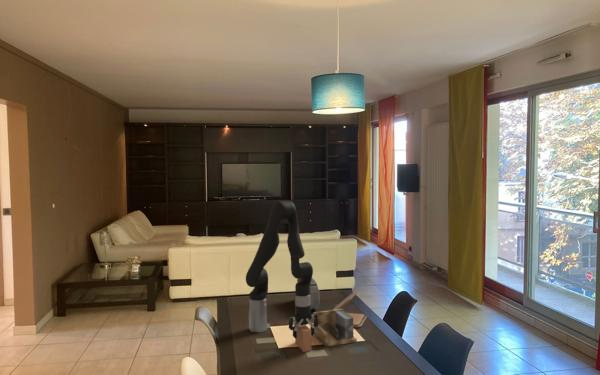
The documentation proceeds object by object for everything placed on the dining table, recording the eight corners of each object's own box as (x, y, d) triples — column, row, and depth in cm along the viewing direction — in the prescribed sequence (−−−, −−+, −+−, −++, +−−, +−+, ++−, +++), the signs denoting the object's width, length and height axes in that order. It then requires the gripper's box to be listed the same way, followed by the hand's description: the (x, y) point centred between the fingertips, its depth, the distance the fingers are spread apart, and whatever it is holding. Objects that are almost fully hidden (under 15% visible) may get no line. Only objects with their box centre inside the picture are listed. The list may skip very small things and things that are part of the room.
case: (333, 313, 269) (332, 287, 268) (368, 316, 262) (367, 289, 261) (323, 325, 250) (322, 296, 249) (360, 329, 242) (360, 300, 241)
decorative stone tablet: (296, 269, 294) (310, 285, 266) (305, 268, 296) (321, 284, 268) (295, 298, 297) (310, 316, 269) (305, 297, 299) (320, 315, 271)
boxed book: (303, 352, 213) (303, 331, 213) (295, 342, 225) (295, 323, 224) (311, 350, 215) (311, 330, 214) (302, 341, 226) (302, 322, 225)
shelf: (325, 346, 219) (324, 322, 218) (313, 335, 234) (313, 312, 234) (356, 341, 225) (356, 318, 224) (343, 330, 240) (343, 308, 239)
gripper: (291, 307, 213) (292, 341, 213) (319, 304, 217) (320, 337, 218) (286, 303, 220) (287, 336, 220) (313, 300, 224) (314, 332, 225)
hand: (303, 336), depth 219 cm, fingers open, 8 cm apart
